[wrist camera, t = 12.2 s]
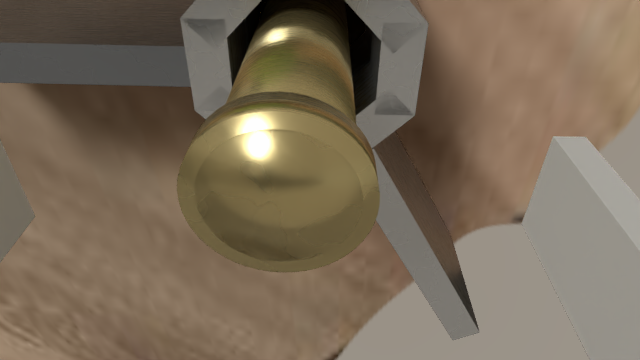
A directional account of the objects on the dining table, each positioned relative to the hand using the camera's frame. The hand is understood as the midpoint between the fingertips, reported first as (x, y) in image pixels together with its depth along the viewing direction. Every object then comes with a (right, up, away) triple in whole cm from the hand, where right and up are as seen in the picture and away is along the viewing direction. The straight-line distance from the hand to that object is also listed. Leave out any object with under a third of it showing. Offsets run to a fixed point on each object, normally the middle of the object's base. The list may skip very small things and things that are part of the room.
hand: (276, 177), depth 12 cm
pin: (0, +9, +13) cm, 15 cm away
